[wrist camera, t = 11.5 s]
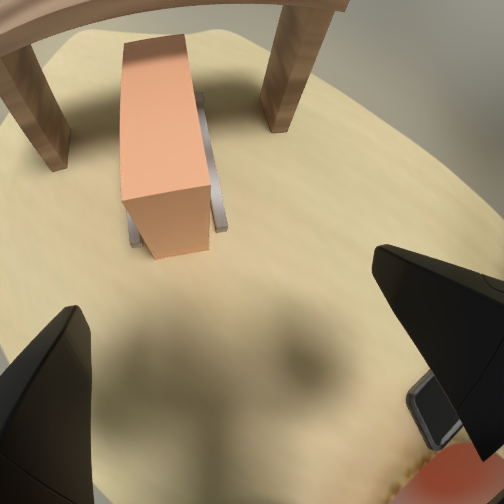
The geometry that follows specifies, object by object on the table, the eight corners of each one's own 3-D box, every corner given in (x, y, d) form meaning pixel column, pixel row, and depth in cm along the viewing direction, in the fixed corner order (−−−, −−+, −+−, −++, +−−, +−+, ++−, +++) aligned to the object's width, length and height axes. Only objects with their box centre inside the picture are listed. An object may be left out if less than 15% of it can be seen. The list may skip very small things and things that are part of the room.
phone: (515, 354, 23) (435, 455, 20) (508, 354, 24) (428, 453, 21) (494, 297, 25) (407, 396, 21) (487, 298, 26) (399, 395, 22)
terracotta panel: (208, 249, 23) (211, 184, 13) (155, 259, 22) (121, 200, 13) (186, 123, 26) (184, 33, 16) (142, 130, 25) (124, 43, 16)
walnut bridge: (315, 216, 25) (424, 80, 10) (50, 264, 21) (-87, 168, 6) (271, 90, 28) (311, -44, 13) (58, 125, 24) (0, 2, 9)
